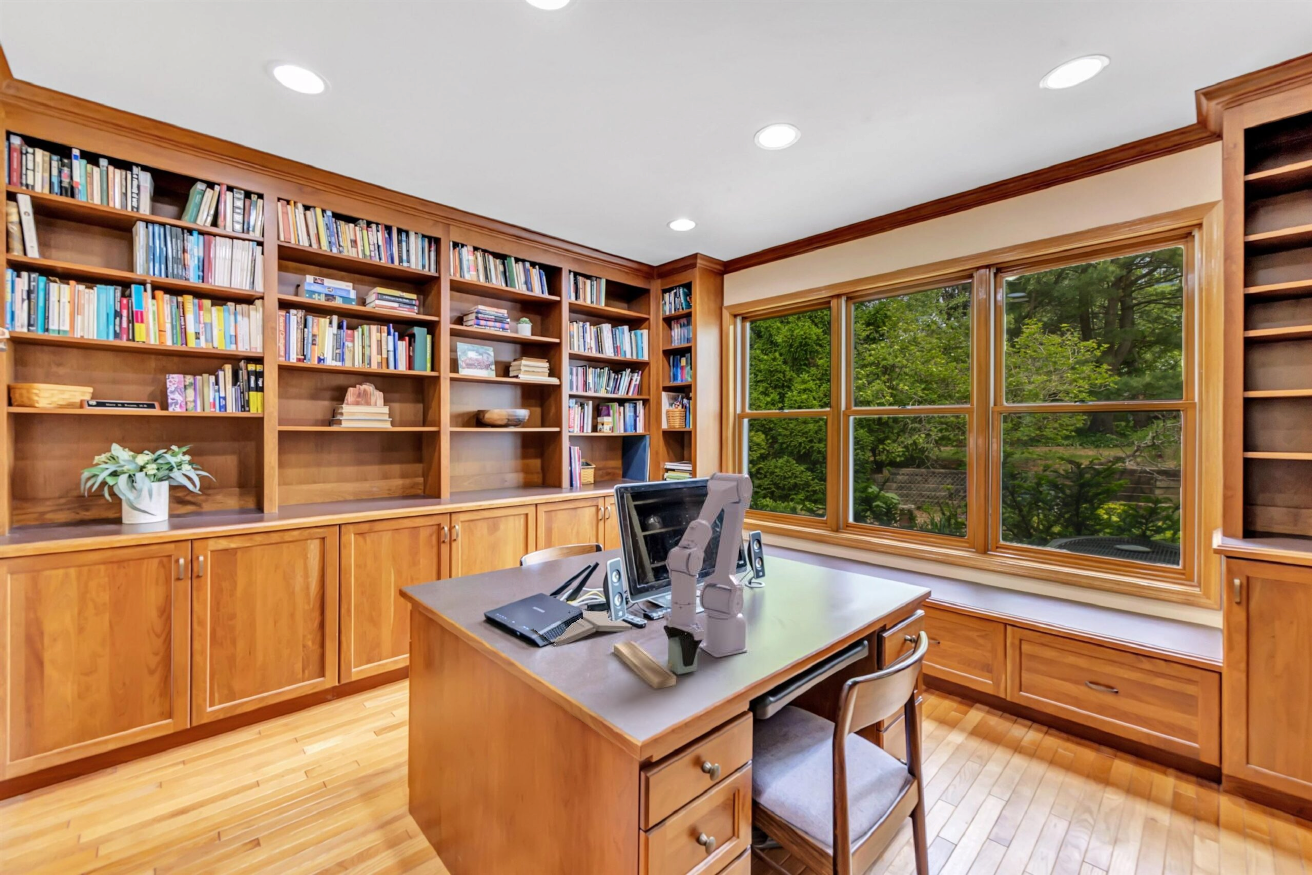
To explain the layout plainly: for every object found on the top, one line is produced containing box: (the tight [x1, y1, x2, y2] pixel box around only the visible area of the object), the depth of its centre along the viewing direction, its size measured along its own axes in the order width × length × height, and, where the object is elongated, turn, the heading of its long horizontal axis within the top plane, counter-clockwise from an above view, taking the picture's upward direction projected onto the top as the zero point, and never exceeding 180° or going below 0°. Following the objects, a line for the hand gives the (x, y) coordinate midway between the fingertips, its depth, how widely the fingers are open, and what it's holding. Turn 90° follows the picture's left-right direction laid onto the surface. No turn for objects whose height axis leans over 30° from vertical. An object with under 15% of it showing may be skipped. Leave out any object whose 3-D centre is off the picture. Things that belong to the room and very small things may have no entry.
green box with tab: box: [666, 637, 699, 675], centre depth 124 cm, size 6×4×6 cm
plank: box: [613, 640, 677, 690], centre depth 126 cm, size 5×22×2 cm, turn 27°
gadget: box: [554, 610, 633, 647], centre depth 150 cm, size 23×15×4 cm, turn 126°
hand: (682, 661), depth 124 cm, fingers closed on green box with tab, 4 cm apart
